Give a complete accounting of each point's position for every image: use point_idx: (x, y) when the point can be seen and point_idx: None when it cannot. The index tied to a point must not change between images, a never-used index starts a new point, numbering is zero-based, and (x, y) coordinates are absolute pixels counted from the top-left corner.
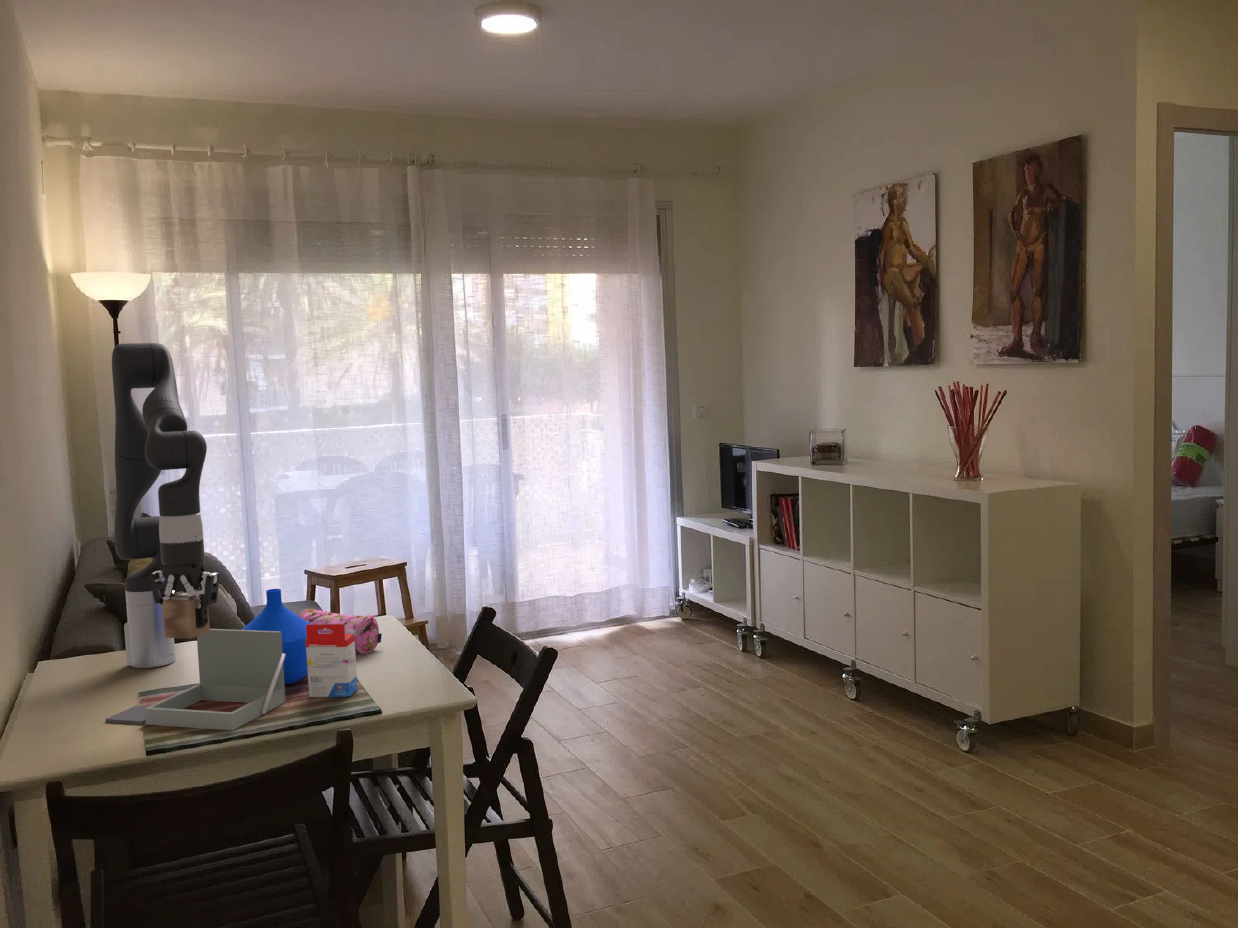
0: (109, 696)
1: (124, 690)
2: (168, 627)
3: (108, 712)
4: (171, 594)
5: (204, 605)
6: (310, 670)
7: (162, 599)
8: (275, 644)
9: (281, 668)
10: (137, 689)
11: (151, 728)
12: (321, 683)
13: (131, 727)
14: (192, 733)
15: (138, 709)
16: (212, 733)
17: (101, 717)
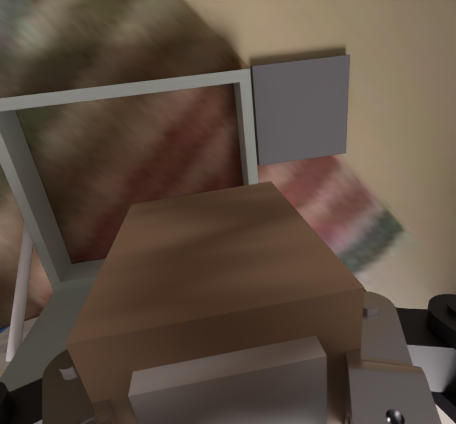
0: (445, 192)
1: (438, 227)
2: (262, 201)
3: (384, 113)
4: (348, 391)
5: (33, 386)
6: None
7: (427, 338)
8: (15, 376)
9: (35, 325)
10: (417, 239)
11: (206, 50)
12: (5, 342)
13: (259, 41)
14: (76, 49)
15: (321, 133)
16: (27, 64)
17: (377, 80)
